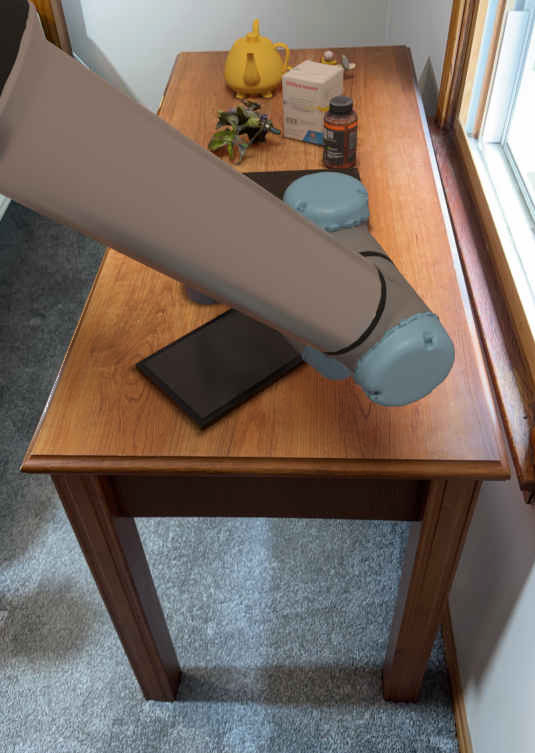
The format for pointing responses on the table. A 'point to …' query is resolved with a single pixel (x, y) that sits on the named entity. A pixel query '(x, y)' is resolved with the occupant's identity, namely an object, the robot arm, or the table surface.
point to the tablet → (220, 366)
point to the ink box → (309, 99)
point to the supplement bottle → (340, 133)
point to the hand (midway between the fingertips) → (181, 188)
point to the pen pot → (198, 296)
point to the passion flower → (242, 127)
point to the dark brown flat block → (291, 178)
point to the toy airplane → (328, 61)
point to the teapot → (255, 64)
